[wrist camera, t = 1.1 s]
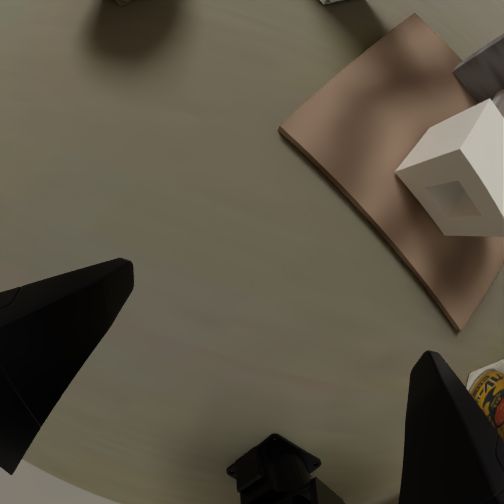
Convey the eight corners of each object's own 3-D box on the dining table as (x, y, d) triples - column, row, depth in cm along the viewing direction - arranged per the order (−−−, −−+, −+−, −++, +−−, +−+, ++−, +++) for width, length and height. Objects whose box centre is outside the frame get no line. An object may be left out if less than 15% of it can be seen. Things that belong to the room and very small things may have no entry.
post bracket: (534, 180, 24) (593, 172, 14) (454, 328, 24) (528, 360, 14) (410, 17, 22) (456, -33, 12) (277, 130, 22) (309, 63, 12)
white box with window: (474, 188, 22) (538, 178, 14) (444, 235, 22) (513, 237, 14) (429, 127, 22) (490, 98, 14) (394, 171, 21) (459, 148, 13)
